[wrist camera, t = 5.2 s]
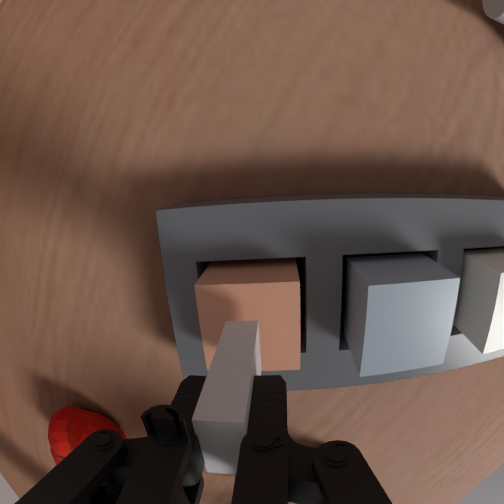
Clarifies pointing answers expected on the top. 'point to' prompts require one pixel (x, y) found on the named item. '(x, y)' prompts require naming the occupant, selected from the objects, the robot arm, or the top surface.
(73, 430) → the tomato
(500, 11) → the bottle
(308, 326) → the keypad housing
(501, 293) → the ivory key
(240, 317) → the terracotta key
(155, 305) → the top surface
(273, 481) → the robot arm
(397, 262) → the slate key
